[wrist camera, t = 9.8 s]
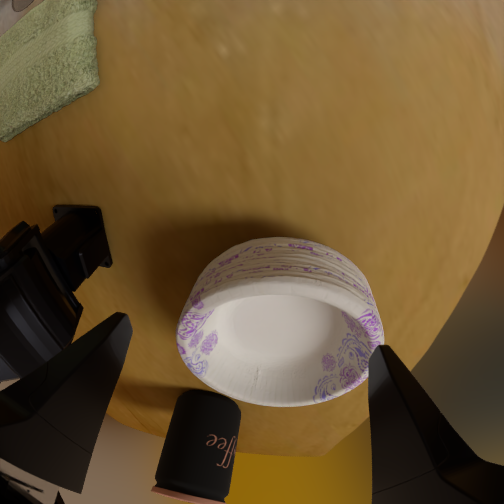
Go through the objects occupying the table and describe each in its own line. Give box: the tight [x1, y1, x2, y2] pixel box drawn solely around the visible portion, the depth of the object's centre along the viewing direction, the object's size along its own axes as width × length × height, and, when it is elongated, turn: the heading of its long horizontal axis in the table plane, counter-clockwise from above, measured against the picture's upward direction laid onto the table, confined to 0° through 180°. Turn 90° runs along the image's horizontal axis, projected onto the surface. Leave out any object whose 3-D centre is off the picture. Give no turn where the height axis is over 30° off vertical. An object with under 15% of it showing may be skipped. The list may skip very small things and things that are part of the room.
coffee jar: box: [151, 390, 241, 504], centre depth 32 cm, size 11×11×18 cm
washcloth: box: [0, 0, 100, 142], centre depth 13 cm, size 13×18×3 cm
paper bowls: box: [176, 237, 384, 407], centre depth 21 cm, size 15×15×8 cm
